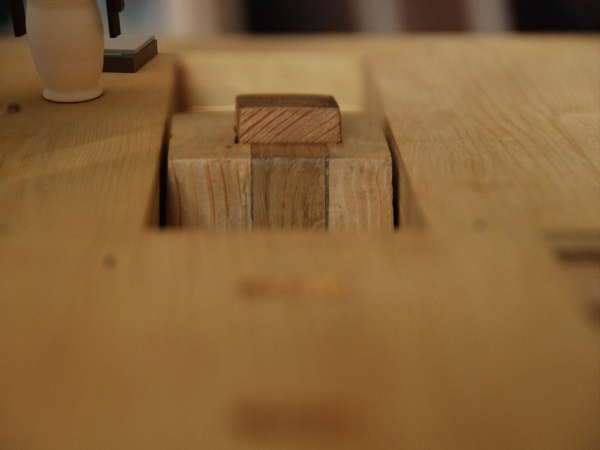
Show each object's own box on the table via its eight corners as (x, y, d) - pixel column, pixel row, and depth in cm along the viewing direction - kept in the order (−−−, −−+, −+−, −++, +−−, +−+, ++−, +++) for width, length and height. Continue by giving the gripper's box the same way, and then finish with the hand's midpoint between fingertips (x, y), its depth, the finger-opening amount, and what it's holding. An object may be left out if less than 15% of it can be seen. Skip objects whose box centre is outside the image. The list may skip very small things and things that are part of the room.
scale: (75, 71, 130) (73, 51, 129) (104, 51, 143) (102, 33, 142) (134, 72, 129) (132, 52, 128) (157, 53, 142) (156, 34, 141)
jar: (23, 94, 118) (7, -13, 112) (88, 82, 124) (77, -20, 118) (56, 110, 110) (41, -4, 104) (123, 96, 117) (113, -12, 110)
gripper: (-60, -129, 103) (-30, 40, 112) (132, -131, 100) (147, 42, 109) (-32, -130, 110) (-6, 29, 118) (149, -132, 107) (162, 31, 116)
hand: (68, 35), depth 114 cm, fingers open, 13 cm apart
